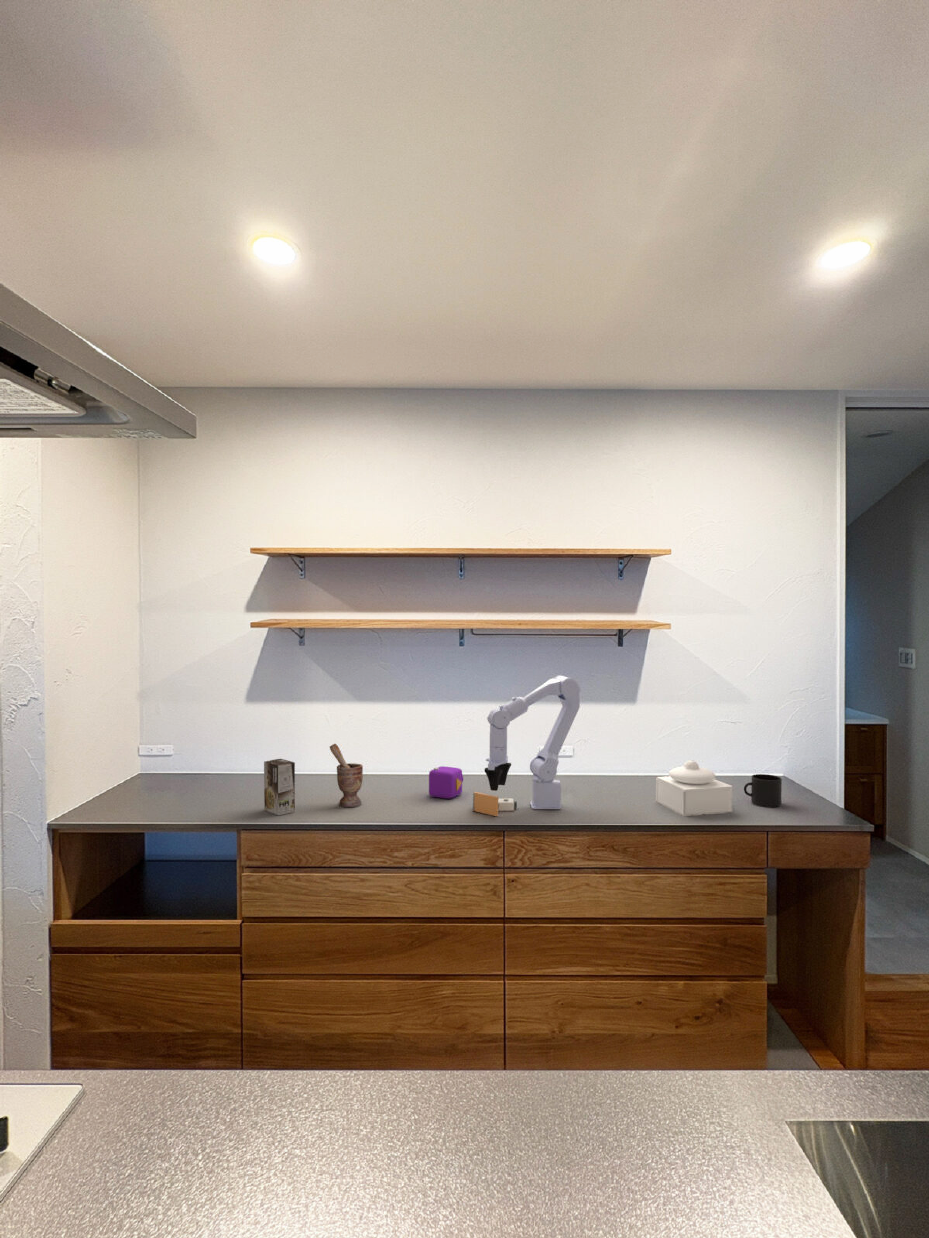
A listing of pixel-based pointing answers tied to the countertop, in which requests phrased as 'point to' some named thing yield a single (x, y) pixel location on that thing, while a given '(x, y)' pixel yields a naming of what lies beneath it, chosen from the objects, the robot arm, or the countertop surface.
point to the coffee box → (279, 786)
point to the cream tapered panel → (506, 804)
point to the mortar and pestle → (348, 779)
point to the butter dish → (693, 791)
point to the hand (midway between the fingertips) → (497, 787)
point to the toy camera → (445, 782)
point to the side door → (485, 803)
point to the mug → (765, 790)
